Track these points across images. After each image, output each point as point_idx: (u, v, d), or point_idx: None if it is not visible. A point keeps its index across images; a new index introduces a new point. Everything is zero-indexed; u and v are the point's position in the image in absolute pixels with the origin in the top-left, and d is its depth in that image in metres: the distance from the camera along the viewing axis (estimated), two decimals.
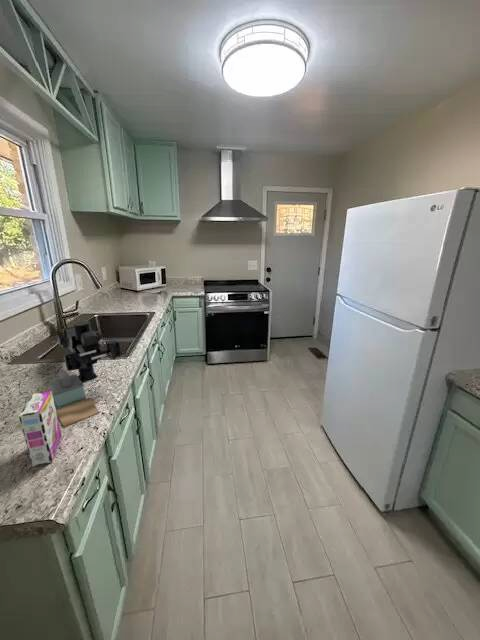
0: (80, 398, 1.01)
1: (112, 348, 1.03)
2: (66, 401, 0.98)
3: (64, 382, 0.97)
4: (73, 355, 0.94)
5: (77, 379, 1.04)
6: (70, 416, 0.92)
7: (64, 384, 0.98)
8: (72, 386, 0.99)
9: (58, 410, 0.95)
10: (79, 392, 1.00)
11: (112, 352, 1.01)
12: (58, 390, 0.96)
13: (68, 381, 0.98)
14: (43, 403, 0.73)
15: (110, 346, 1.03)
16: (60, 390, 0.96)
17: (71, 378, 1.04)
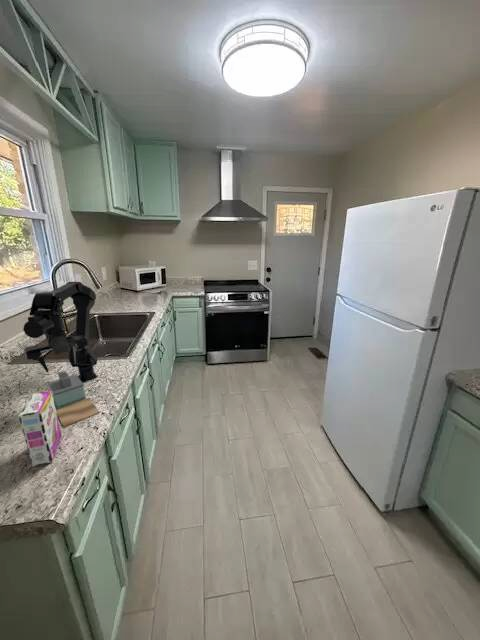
0: (80, 398, 1.01)
1: (79, 350, 1.00)
2: (66, 401, 0.98)
3: (64, 382, 0.97)
4: (36, 359, 0.91)
5: (77, 379, 1.04)
6: (70, 416, 0.92)
7: (64, 384, 0.98)
8: (72, 386, 0.99)
9: (58, 410, 0.95)
10: (79, 392, 1.00)
11: (77, 356, 1.01)
12: (58, 390, 0.96)
13: (68, 381, 0.98)
14: (43, 403, 0.73)
15: (78, 349, 0.99)
16: (60, 390, 0.96)
17: (71, 378, 1.04)
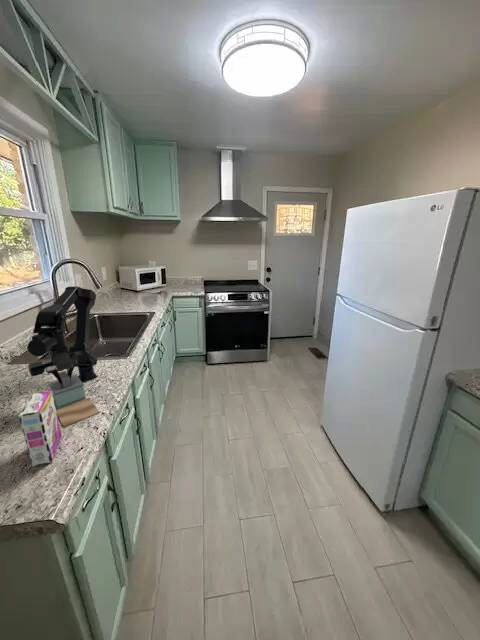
0: (80, 398, 1.01)
1: (72, 368, 1.00)
2: (66, 401, 0.98)
3: (64, 382, 0.98)
4: None
5: (77, 379, 1.04)
6: (70, 416, 0.92)
7: (64, 384, 0.98)
8: (72, 386, 0.99)
9: (58, 410, 0.95)
10: (79, 392, 1.00)
11: (70, 374, 1.00)
12: (58, 390, 0.96)
13: (68, 381, 0.98)
14: (43, 403, 0.73)
15: (71, 367, 0.99)
16: (60, 390, 0.96)
17: (71, 378, 1.04)
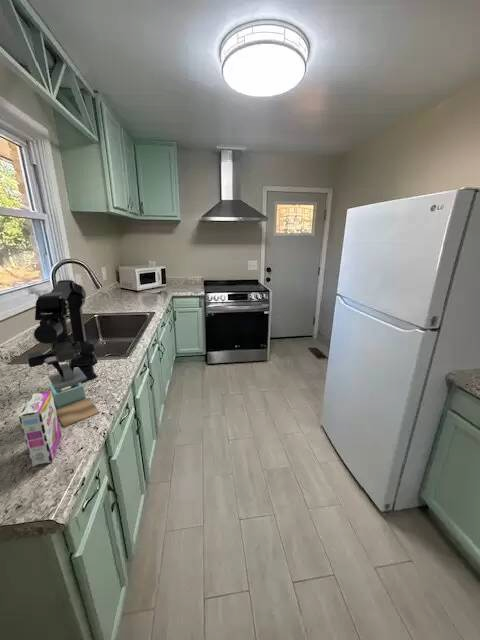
0: (80, 398, 1.01)
1: (74, 360, 0.91)
2: (66, 401, 0.98)
3: (66, 375, 0.89)
4: (51, 364, 0.86)
5: (80, 372, 0.95)
6: (70, 416, 0.92)
7: (65, 377, 0.89)
8: (74, 379, 0.90)
9: (58, 410, 0.95)
10: (79, 392, 1.00)
11: (72, 366, 0.92)
12: (59, 383, 0.88)
13: (70, 374, 0.90)
14: (43, 403, 0.73)
15: (73, 359, 0.90)
16: (61, 383, 0.88)
17: (73, 371, 0.96)
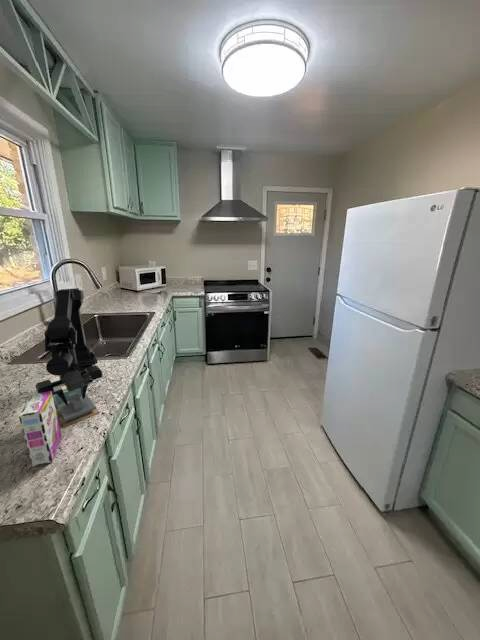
0: None
1: (86, 385, 0.93)
2: None
3: (75, 405, 0.91)
4: None
5: (88, 401, 0.97)
6: None
7: (75, 408, 0.91)
8: (84, 409, 0.92)
9: (58, 410, 0.95)
10: (79, 392, 1.00)
11: (84, 391, 0.94)
12: (69, 414, 0.90)
13: (79, 404, 0.91)
14: (43, 403, 0.73)
15: (85, 384, 0.92)
16: (71, 414, 0.90)
17: (82, 400, 0.98)
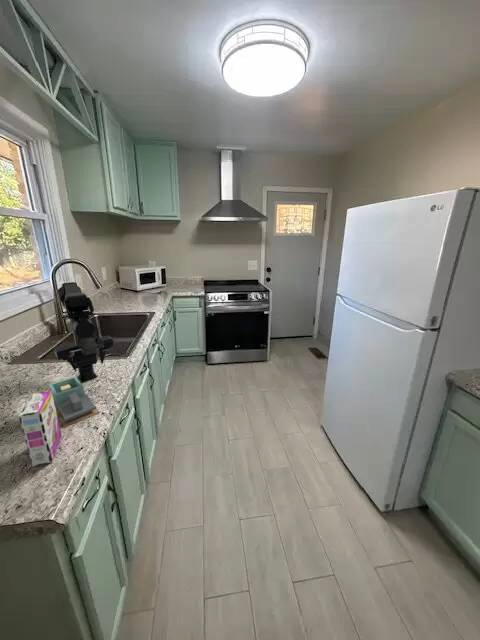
0: None
1: (105, 351, 1.03)
2: (66, 401, 0.98)
3: (75, 405, 0.91)
4: (66, 359, 0.94)
5: (88, 401, 0.97)
6: None
7: (75, 408, 0.91)
8: (84, 409, 0.92)
9: (58, 410, 0.95)
10: (79, 392, 1.00)
11: (103, 356, 1.04)
12: (69, 414, 0.90)
13: (79, 404, 0.91)
14: (43, 403, 0.73)
15: (104, 350, 1.02)
16: (71, 414, 0.90)
17: (82, 400, 0.98)
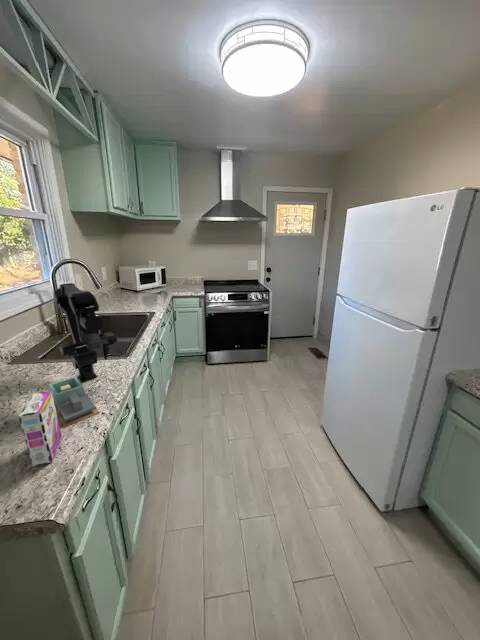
0: None
1: (108, 347, 1.06)
2: (66, 401, 0.98)
3: (75, 405, 0.91)
4: (71, 355, 0.96)
5: (88, 401, 0.97)
6: None
7: (75, 408, 0.91)
8: (84, 409, 0.92)
9: (58, 410, 0.95)
10: (79, 392, 1.00)
11: (106, 352, 1.06)
12: (69, 414, 0.90)
13: (79, 404, 0.91)
14: (43, 403, 0.73)
15: (108, 346, 1.05)
16: (71, 414, 0.90)
17: (82, 400, 0.98)
